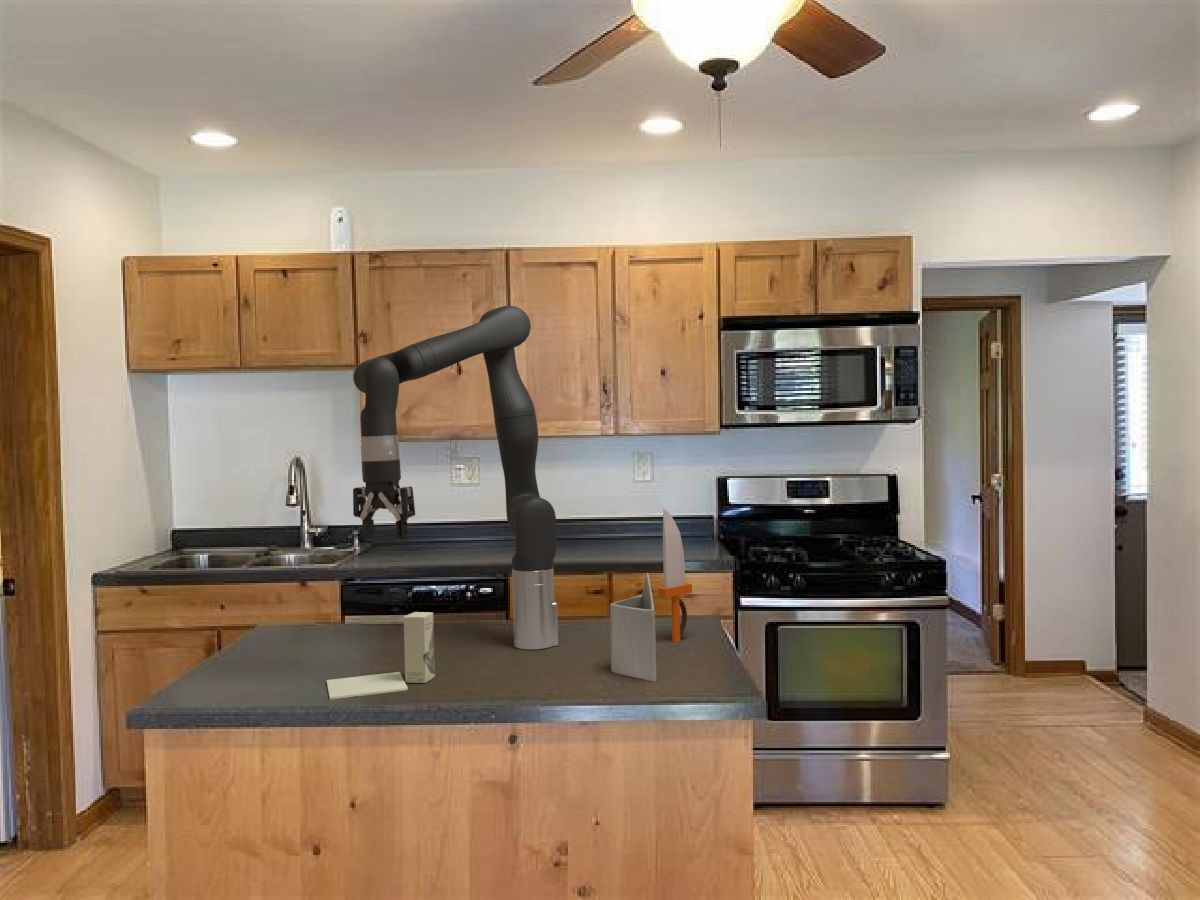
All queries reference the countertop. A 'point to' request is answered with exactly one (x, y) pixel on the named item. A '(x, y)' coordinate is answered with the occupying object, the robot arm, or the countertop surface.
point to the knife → (674, 574)
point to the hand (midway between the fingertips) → (385, 538)
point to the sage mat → (366, 685)
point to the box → (419, 647)
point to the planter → (634, 636)
